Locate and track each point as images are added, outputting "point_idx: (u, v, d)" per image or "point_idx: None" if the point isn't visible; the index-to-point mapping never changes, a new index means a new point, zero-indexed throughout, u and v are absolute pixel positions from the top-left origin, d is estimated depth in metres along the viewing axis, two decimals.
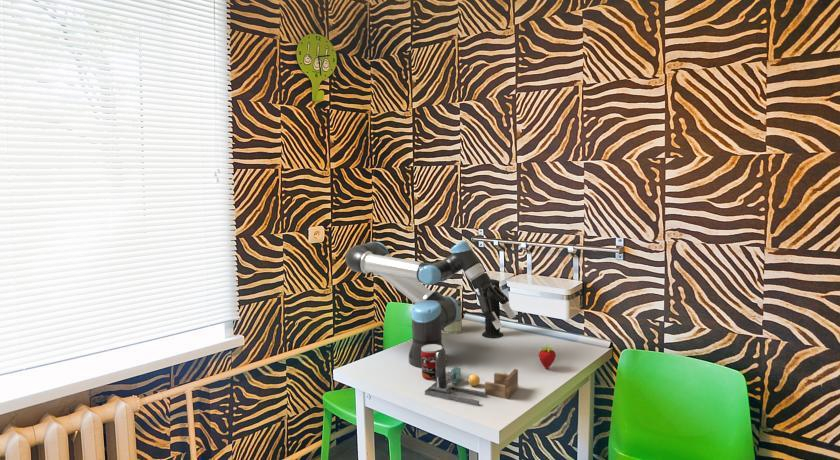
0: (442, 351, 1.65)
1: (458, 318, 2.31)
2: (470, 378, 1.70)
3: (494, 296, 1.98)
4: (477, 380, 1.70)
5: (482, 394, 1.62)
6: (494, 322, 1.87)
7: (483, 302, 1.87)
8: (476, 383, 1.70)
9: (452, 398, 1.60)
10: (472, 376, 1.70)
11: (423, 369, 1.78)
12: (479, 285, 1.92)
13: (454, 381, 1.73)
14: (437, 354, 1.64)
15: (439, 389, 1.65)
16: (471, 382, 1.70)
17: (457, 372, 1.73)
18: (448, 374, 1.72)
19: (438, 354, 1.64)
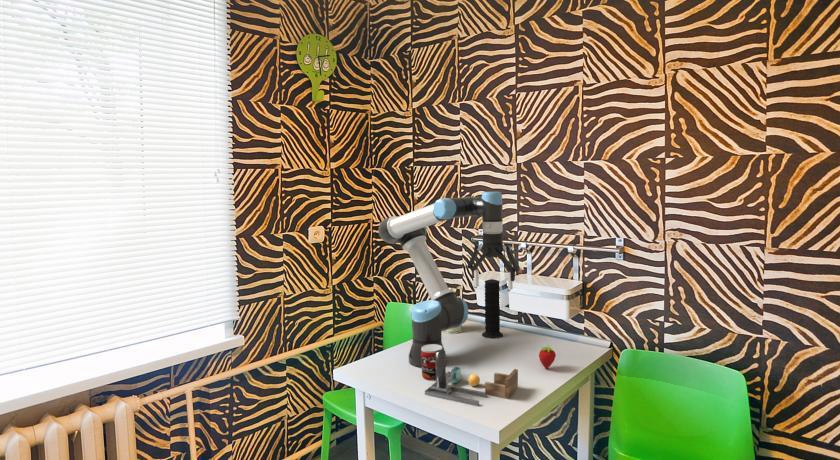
0: (442, 351, 1.65)
1: None
2: (470, 378, 1.70)
3: None
4: (477, 380, 1.70)
5: (482, 394, 1.62)
6: None
7: None
8: (476, 383, 1.70)
9: (452, 398, 1.60)
10: (472, 376, 1.70)
11: (423, 369, 1.78)
12: None
13: (454, 381, 1.73)
14: (437, 354, 1.64)
15: (439, 389, 1.65)
16: (471, 382, 1.70)
17: (457, 372, 1.73)
18: (448, 374, 1.72)
19: (438, 354, 1.64)
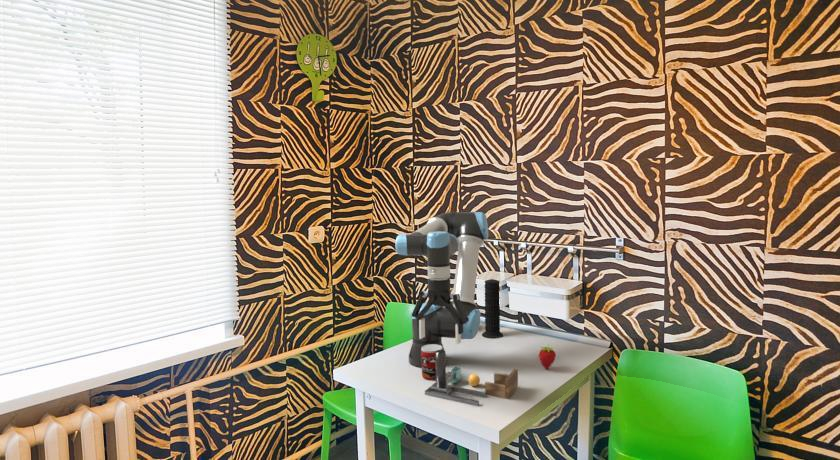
0: (442, 351, 1.65)
1: None
2: (470, 378, 1.70)
3: None
4: (477, 380, 1.70)
5: (482, 394, 1.62)
6: None
7: None
8: (476, 383, 1.70)
9: (452, 398, 1.60)
10: (472, 376, 1.70)
11: (423, 369, 1.78)
12: None
13: (454, 381, 1.73)
14: (437, 354, 1.64)
15: (439, 389, 1.65)
16: (471, 382, 1.70)
17: (457, 372, 1.73)
18: (448, 374, 1.72)
19: (438, 354, 1.64)
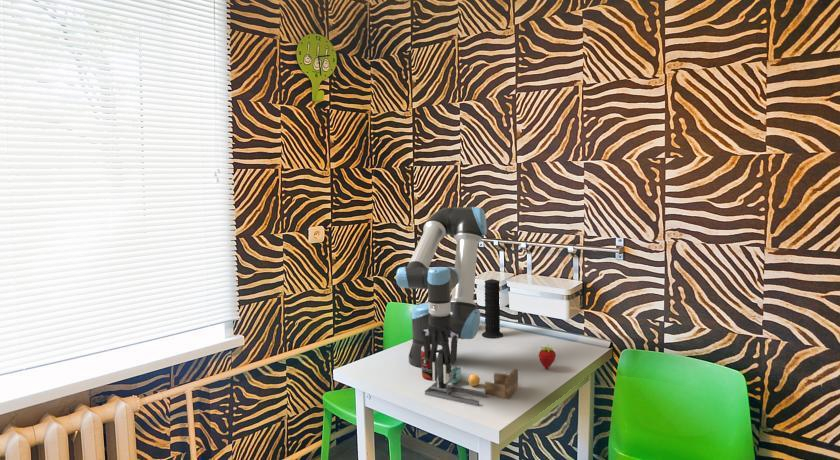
0: (442, 351, 1.65)
1: None
2: (470, 378, 1.70)
3: None
4: (477, 380, 1.70)
5: (482, 394, 1.62)
6: None
7: None
8: (476, 383, 1.70)
9: (452, 398, 1.60)
10: (472, 376, 1.70)
11: (423, 369, 1.78)
12: None
13: (454, 381, 1.73)
14: (437, 354, 1.64)
15: (439, 389, 1.65)
16: (471, 382, 1.70)
17: (457, 372, 1.73)
18: None
19: (438, 354, 1.64)
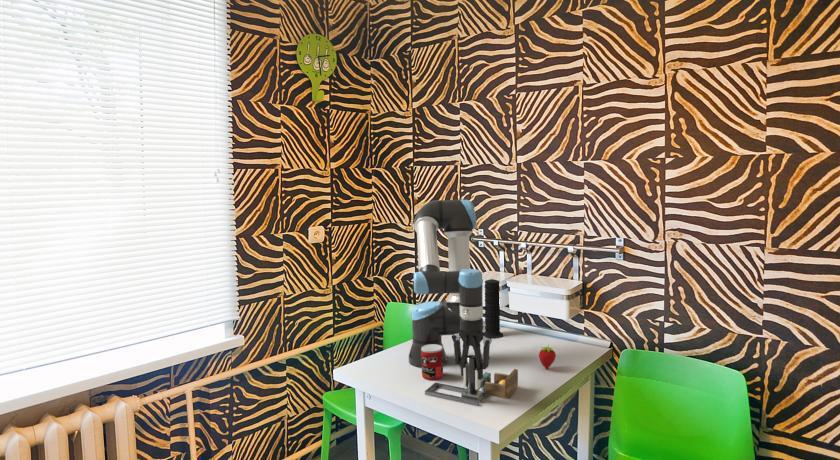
0: (473, 356, 1.60)
1: None
2: None
3: None
4: (504, 382, 1.65)
5: None
6: None
7: None
8: None
9: (452, 398, 1.60)
10: (499, 383, 1.66)
11: (423, 369, 1.78)
12: None
13: (484, 387, 1.67)
14: (469, 359, 1.58)
15: (470, 396, 1.59)
16: None
17: (487, 378, 1.68)
18: None
19: (469, 359, 1.58)
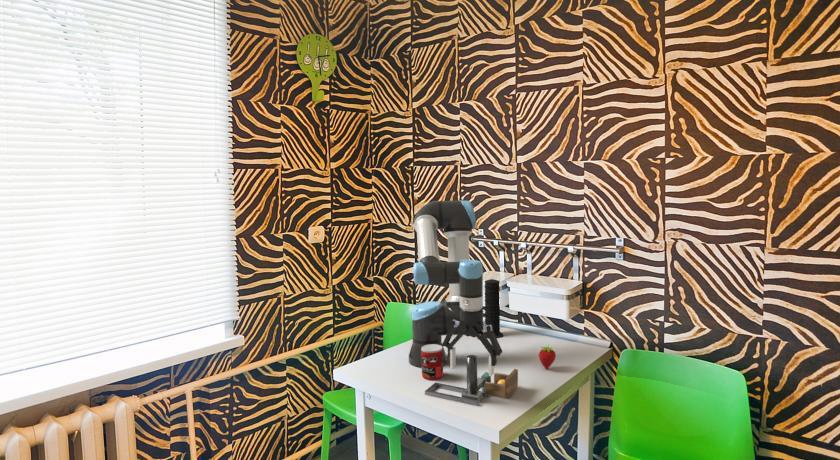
0: (473, 356, 1.60)
1: None
2: None
3: None
4: (502, 381, 1.65)
5: None
6: None
7: (447, 334, 1.63)
8: (504, 384, 1.65)
9: (452, 398, 1.60)
10: None
11: (423, 369, 1.78)
12: None
13: (484, 387, 1.67)
14: (469, 359, 1.58)
15: (470, 396, 1.59)
16: None
17: (487, 378, 1.68)
18: (478, 380, 1.66)
19: (470, 359, 1.58)
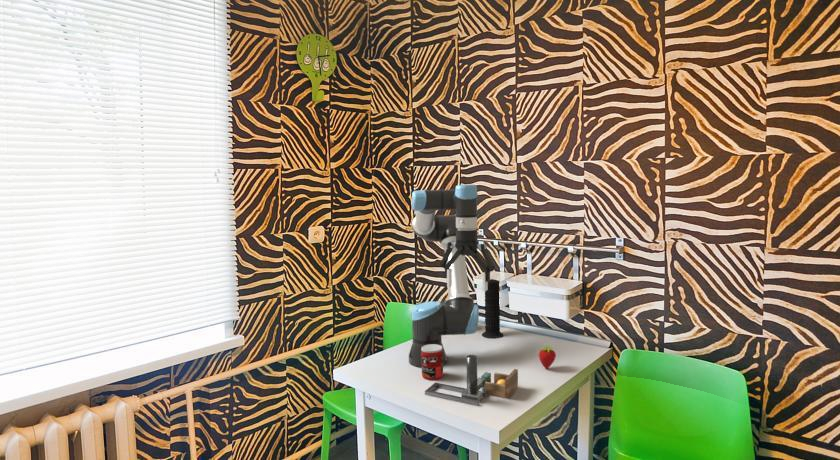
0: (473, 356, 1.60)
1: None
2: None
3: None
4: (500, 381, 1.65)
5: None
6: None
7: None
8: (503, 383, 1.65)
9: (452, 398, 1.60)
10: None
11: (423, 369, 1.78)
12: None
13: (484, 387, 1.67)
14: (469, 359, 1.58)
15: (470, 396, 1.59)
16: None
17: (487, 378, 1.68)
18: (478, 380, 1.66)
19: (470, 359, 1.58)
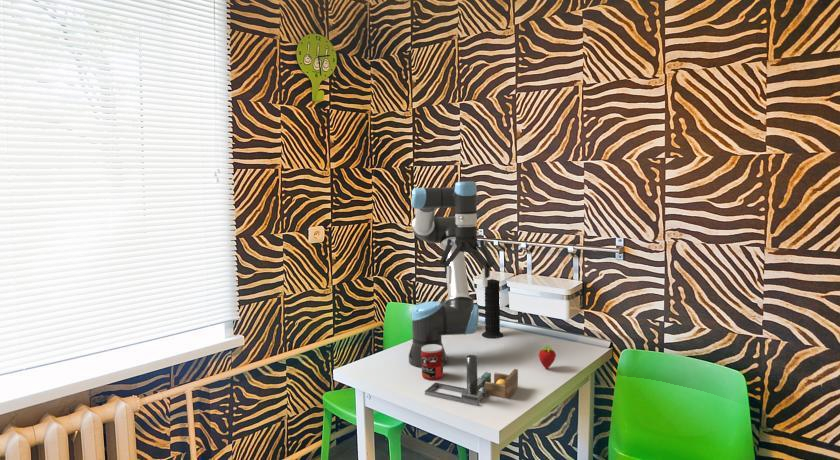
0: (473, 356, 1.60)
1: None
2: None
3: None
4: (499, 381, 1.66)
5: None
6: None
7: None
8: (502, 383, 1.65)
9: (452, 398, 1.60)
10: None
11: (423, 369, 1.78)
12: None
13: (484, 387, 1.67)
14: (469, 359, 1.58)
15: (470, 396, 1.59)
16: None
17: (487, 378, 1.68)
18: (478, 380, 1.66)
19: (470, 359, 1.58)
